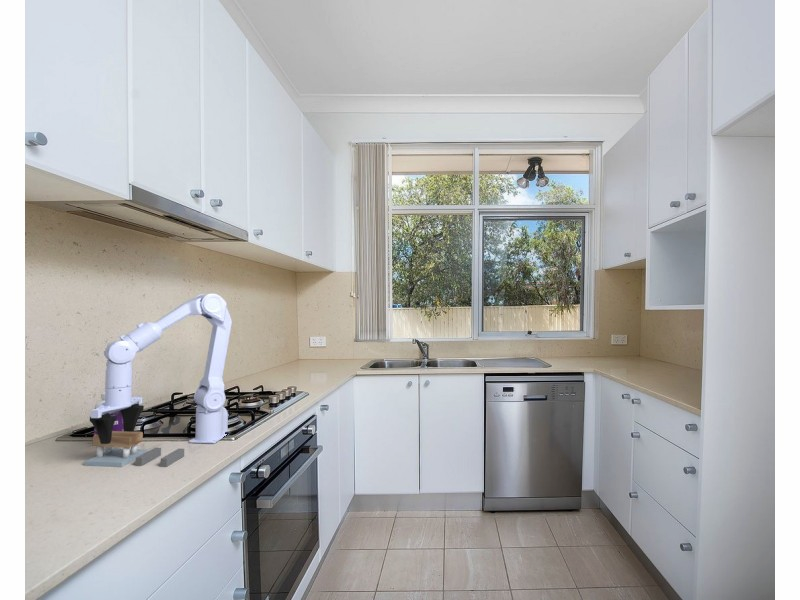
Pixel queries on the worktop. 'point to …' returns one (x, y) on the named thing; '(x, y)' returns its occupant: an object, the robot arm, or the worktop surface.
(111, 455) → the peg base
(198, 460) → the worktop surface
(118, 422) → the pill bottle
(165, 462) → the board rack
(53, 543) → the worktop surface
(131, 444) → the shelf board
